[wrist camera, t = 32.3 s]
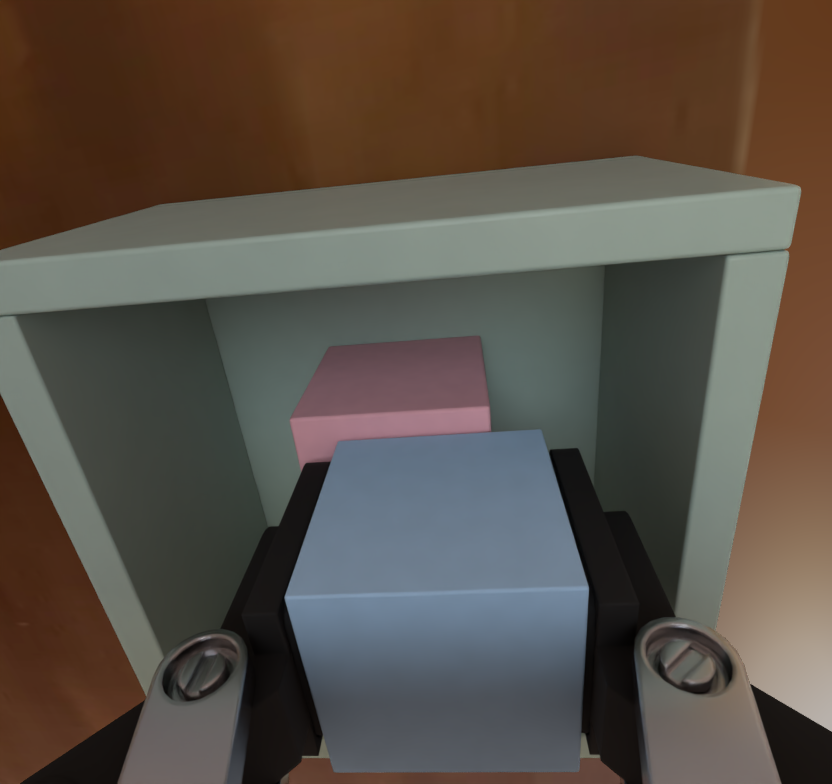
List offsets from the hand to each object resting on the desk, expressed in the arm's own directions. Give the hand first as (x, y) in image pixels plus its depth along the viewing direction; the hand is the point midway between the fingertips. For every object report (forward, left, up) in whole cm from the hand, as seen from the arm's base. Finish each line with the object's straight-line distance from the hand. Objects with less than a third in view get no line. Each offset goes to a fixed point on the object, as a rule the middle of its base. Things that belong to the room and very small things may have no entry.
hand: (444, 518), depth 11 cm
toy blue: (0, 0, 0) cm, 0 cm away
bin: (0, -1, -5) cm, 5 cm away
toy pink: (0, -1, -4) cm, 4 cm away
